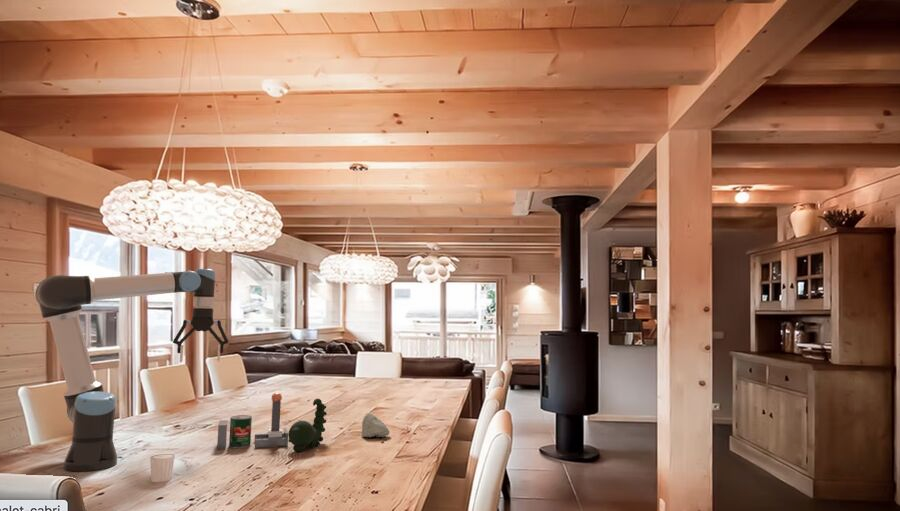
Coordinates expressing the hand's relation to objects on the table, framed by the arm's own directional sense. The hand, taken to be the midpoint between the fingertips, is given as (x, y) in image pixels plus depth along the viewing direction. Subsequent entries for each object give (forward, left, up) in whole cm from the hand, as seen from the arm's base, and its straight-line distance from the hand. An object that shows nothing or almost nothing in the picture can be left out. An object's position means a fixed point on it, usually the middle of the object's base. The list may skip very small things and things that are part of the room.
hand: (199, 361), depth 229 cm
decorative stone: (-4, -70, -32) cm, 77 cm away
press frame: (-7, -21, -32) cm, 39 cm away
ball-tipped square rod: (-7, -30, -31) cm, 44 cm away
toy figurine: (-17, -41, -32) cm, 55 cm away
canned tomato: (-7, -16, -32) cm, 37 cm away
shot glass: (-48, +6, -32) cm, 58 cm away
